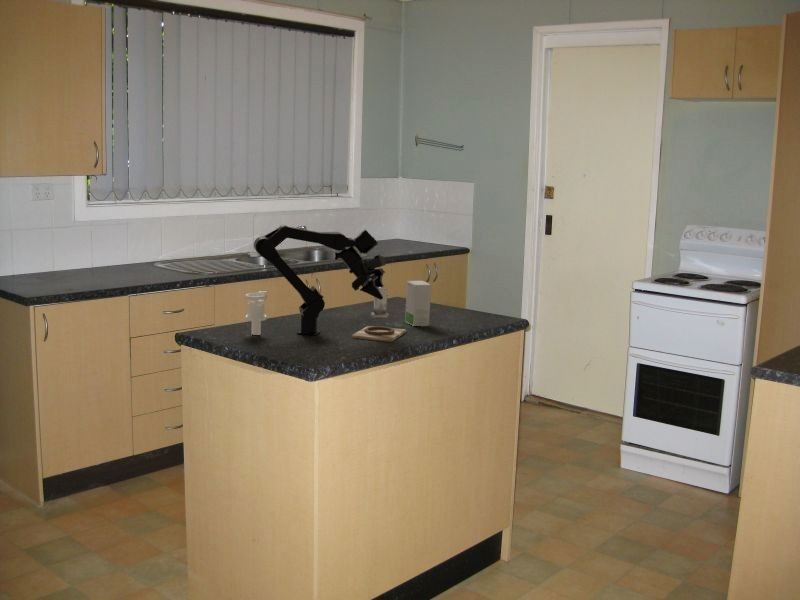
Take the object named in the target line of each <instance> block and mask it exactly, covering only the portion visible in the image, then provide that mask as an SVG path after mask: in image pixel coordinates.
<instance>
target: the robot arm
mask: <svg viewBox="0 0 800 600" xmlns="http://www.w3.org/2000/svg"><path fill="white" fill-rule="evenodd" d="M285 239H291V240H297V241H303V242H309V243H313V244H314V243H315V244H320V245H322V246H325V247H327V248H329V249H333V250H335V251H338V252H334V256H335V257H334V261H335V262H338V261H339V260H341V261H342V262H343V263H344V264H345V266H346V267H347V268H348V270H349V271H348V272H349V273H350V274H353V275H354V276H355V279H354V280H353V282H351V288H352V289H353V290H354V291H355V292H356V291H358V290H359V291H360V292H363V293H366V294H367V295H370V296H372V297H373V298H374V297H376V298H378V299H380V300H381V299H383V296H382V295H381V293H380V292H379V290H378V288H377V287H378V286H381V287H385V285H384V284H383V275H384V274H385V273H386V271H385V270H384V269H383V268H382V267H383V266H386V262H385V260H386V258H384V256H383V255H381V254H377V255H375V256H374V257H373V259H371V260H368V259H366V258H365V259H364V258H362V256H361V255H362V254H364V255H367V254H368V253H369V252H371V251H372V250H373V249H374V248H375V247H377V246H378V245H379V244H378V241H377V240H376V238H375V237H373V236H372V235H371V233H370V232H369V231H368V230H367V229H363V230H362V231H361V232H360V233H359V234H357V236H355V237H354V238H352V237H347V236H346V235H344V234H342V233H341V232H340V231H322V232H321V231H315V230H309V229H305V228H298V227H293V226H287V225H285V224H281V225H279V227H277V228H276V229H274V230H273V231H270V232H269V233H267V234H266V235H264V236H259V237H257V238H255V240H254V242H253V248H254V250H255V251H256V253H257V254H259V255H260V257H262V258H263V259H265V260H266V261H267V262H269V263H270V264H271V265H273V266H274V267H275V269H276V270H277V271H278V272H279V273H280V274H281V275H282V277H284V278H285V279H286V281H287V282H288V283H289V284H290V285H291V286H292V287H293V289H294V290H296V291H297V293H298V294H299V296H300V297H301V299H302V301H303V303H302V304H301V305H300V306H299V307H298V310H299V313H300V314H301V315H300V330H299V331H297V332H296V335H304V334H305V336H316V335H317V334H319V333H321V332H322V330H320V329H319V330H318V318H319V316H320V313H321V312H322V311H323V310H324V309H325V303H326V301H325V300H324V298H325V296H324V295H323V294H321V292H319V291H318V290H317V288H316V287H315V286H314V285H312V286H311V287H310V286H308V285H307V284H306V283H305V282H303V280H302V279H301V278H300V277H299V275H297V273H296V272H295V271H294V270H293V268H291V267H290V266H289V264H288V263H286V262H285V260H284V259H283V258H282V257H281V255H280V253H279V252H278V250H277V248H276V247H277V246H279V244H281V243H282V242H283V241H284V240H285ZM360 287H361V288H360ZM387 297H388V294H387Z"/></svg>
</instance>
